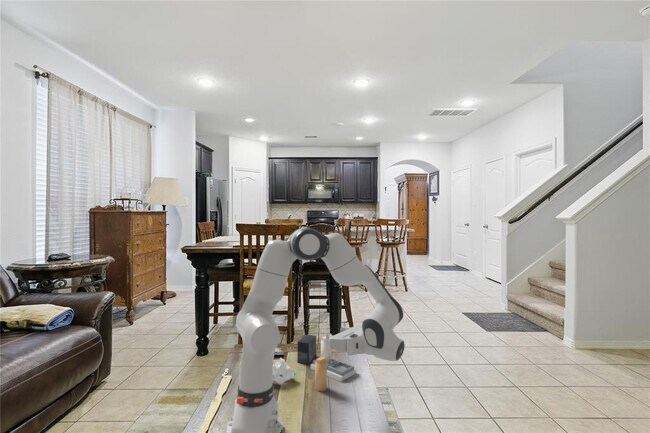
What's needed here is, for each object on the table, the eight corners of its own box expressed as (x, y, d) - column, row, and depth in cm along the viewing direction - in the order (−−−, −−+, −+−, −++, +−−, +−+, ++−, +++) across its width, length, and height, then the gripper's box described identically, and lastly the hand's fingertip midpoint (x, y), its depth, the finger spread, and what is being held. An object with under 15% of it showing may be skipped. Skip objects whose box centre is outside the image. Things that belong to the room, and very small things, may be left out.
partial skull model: (291, 381, 145) (276, 363, 146) (277, 395, 146) (262, 377, 147) (300, 369, 156) (285, 352, 158) (286, 381, 158) (272, 365, 159)
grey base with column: (356, 373, 160) (356, 341, 159) (340, 381, 151) (341, 348, 151) (326, 361, 171) (326, 331, 171) (310, 368, 163) (311, 337, 163)
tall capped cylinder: (329, 388, 146) (329, 358, 146) (321, 392, 142) (321, 361, 142) (320, 384, 149) (320, 354, 149) (312, 388, 145) (313, 358, 145)
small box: (304, 354, 180) (304, 333, 180) (316, 356, 178) (316, 335, 178) (296, 362, 170) (296, 341, 170) (309, 364, 168) (309, 342, 168)
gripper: (377, 325, 142) (349, 318, 151) (347, 339, 126) (318, 331, 135) (377, 340, 142) (349, 333, 151) (347, 357, 126) (318, 347, 135)
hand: (334, 332), depth 143 cm, fingers open, 8 cm apart
